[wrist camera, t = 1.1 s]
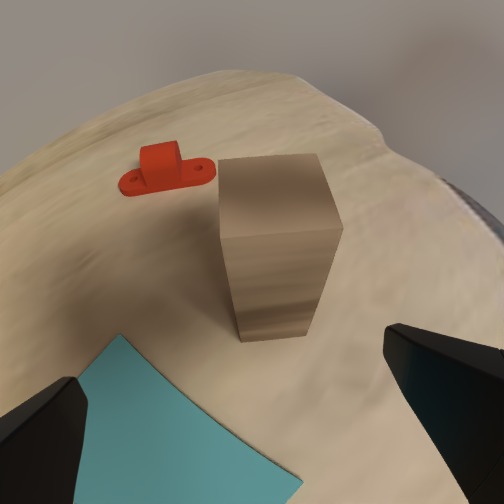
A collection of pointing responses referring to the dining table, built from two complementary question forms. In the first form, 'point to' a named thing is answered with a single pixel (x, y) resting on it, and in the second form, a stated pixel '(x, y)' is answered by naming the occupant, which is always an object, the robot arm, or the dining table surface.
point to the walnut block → (276, 241)
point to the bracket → (165, 171)
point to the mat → (163, 443)
